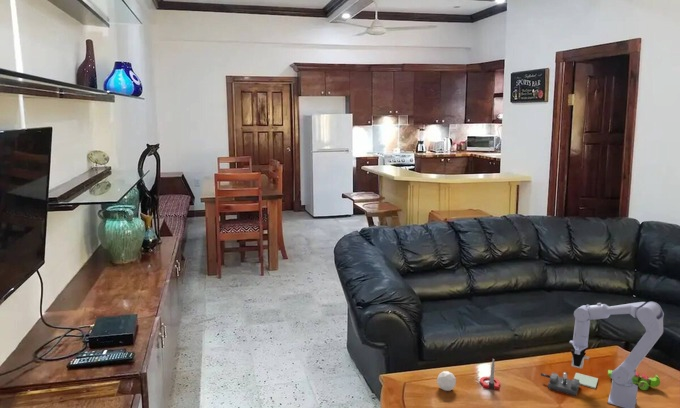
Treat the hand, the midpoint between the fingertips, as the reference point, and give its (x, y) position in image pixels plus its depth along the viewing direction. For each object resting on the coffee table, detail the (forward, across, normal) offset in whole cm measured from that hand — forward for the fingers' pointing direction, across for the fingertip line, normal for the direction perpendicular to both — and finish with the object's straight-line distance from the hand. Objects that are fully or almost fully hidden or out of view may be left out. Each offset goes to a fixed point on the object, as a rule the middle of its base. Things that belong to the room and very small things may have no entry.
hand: (577, 363), depth 223 cm
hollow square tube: (+1, 0, 0) cm, 1 cm away
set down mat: (+10, -5, +3) cm, 11 cm away
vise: (+10, +6, -6) cm, 13 cm away
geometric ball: (+10, +35, -45) cm, 58 cm away
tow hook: (+10, +20, -31) cm, 38 cm away
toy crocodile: (+10, -14, +21) cm, 27 cm away
